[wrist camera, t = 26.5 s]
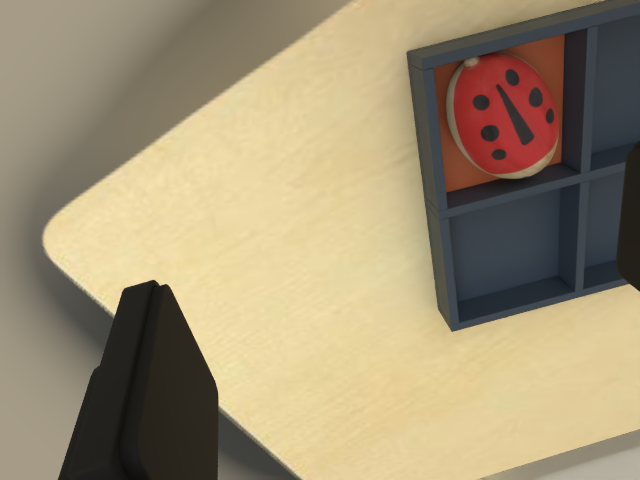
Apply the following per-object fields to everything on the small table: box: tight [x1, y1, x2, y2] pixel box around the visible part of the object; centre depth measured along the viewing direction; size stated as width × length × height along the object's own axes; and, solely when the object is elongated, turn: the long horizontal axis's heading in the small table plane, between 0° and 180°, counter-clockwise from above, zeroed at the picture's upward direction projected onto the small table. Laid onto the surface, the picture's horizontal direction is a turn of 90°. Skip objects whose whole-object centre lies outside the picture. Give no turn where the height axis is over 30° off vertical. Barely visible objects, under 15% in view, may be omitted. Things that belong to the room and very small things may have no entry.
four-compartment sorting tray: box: [407, 0, 640, 332], centre depth 36 cm, size 21×21×3 cm
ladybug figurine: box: [446, 51, 559, 179], centre depth 32 cm, size 7×10×4 cm
